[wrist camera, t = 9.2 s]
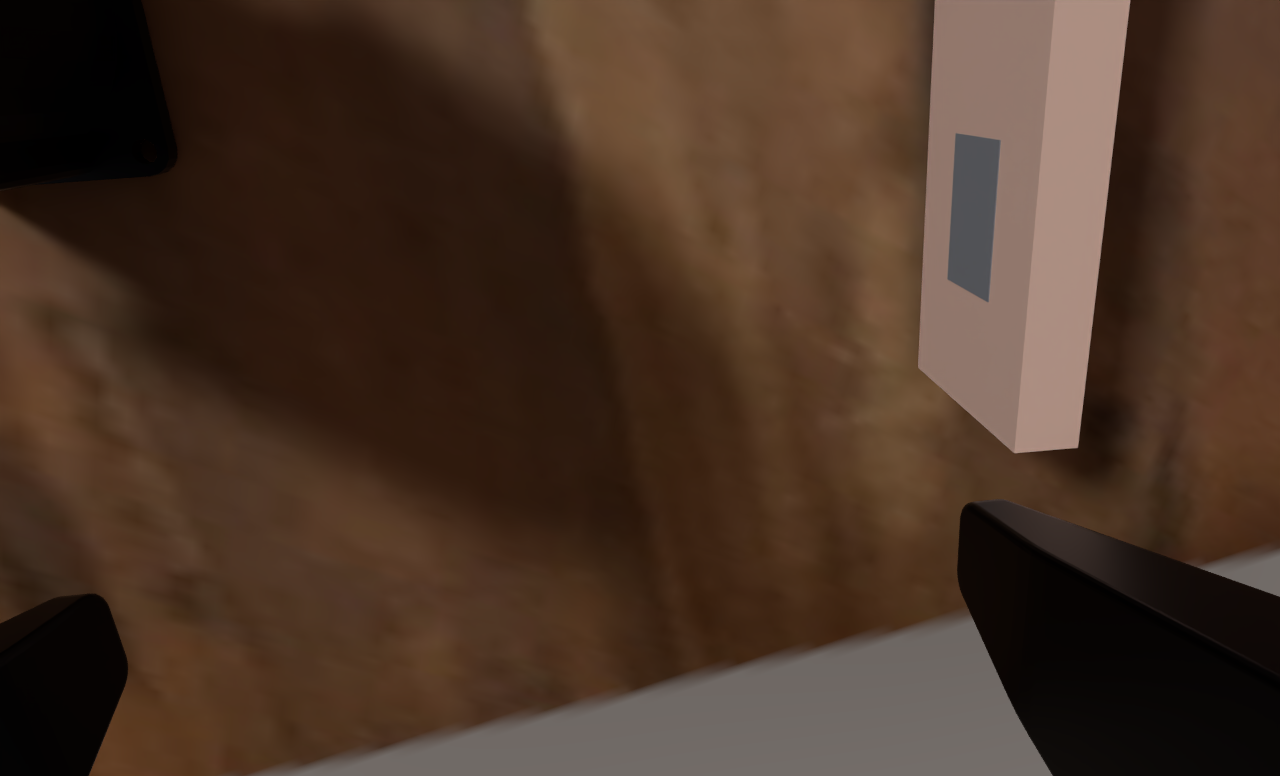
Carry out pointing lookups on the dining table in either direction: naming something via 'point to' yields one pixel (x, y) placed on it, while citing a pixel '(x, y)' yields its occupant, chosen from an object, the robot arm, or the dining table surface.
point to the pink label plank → (1018, 207)
